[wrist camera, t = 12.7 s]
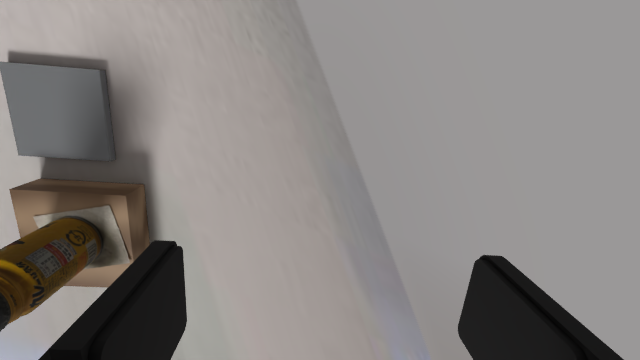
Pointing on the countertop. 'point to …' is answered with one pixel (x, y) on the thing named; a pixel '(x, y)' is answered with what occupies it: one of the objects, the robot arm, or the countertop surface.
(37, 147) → the coaster
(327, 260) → the countertop surface
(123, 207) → the block
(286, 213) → the countertop surface
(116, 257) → the condiment
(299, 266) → the countertop surface
